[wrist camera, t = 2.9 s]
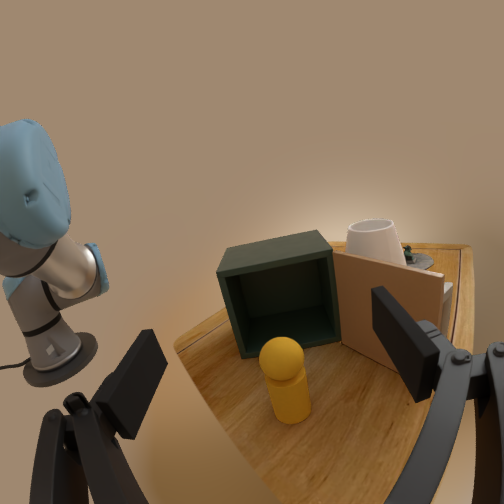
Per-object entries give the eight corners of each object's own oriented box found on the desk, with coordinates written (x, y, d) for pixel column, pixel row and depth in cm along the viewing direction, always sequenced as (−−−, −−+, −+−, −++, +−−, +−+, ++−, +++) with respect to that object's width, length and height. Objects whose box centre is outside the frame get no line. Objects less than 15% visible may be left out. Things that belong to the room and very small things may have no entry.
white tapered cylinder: (384, 273, 59) (379, 212, 55) (422, 294, 46) (421, 222, 42) (332, 291, 57) (323, 226, 53) (365, 319, 44) (359, 240, 40)
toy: (278, 429, 27) (258, 360, 24) (271, 403, 32) (252, 335, 29) (317, 417, 28) (307, 347, 25) (306, 393, 32) (294, 323, 29)
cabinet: (342, 340, 41) (332, 248, 37) (241, 359, 42) (215, 272, 38) (327, 305, 52) (316, 229, 48) (246, 321, 54) (226, 247, 50)
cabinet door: (367, 325, 42) (361, 238, 38) (449, 360, 28) (462, 256, 24) (341, 343, 40) (332, 252, 36) (426, 387, 26) (441, 277, 22)
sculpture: (381, 259, 67) (398, 233, 65) (406, 276, 67) (422, 251, 64) (394, 274, 56) (414, 243, 53) (422, 293, 55) (441, 264, 53)
